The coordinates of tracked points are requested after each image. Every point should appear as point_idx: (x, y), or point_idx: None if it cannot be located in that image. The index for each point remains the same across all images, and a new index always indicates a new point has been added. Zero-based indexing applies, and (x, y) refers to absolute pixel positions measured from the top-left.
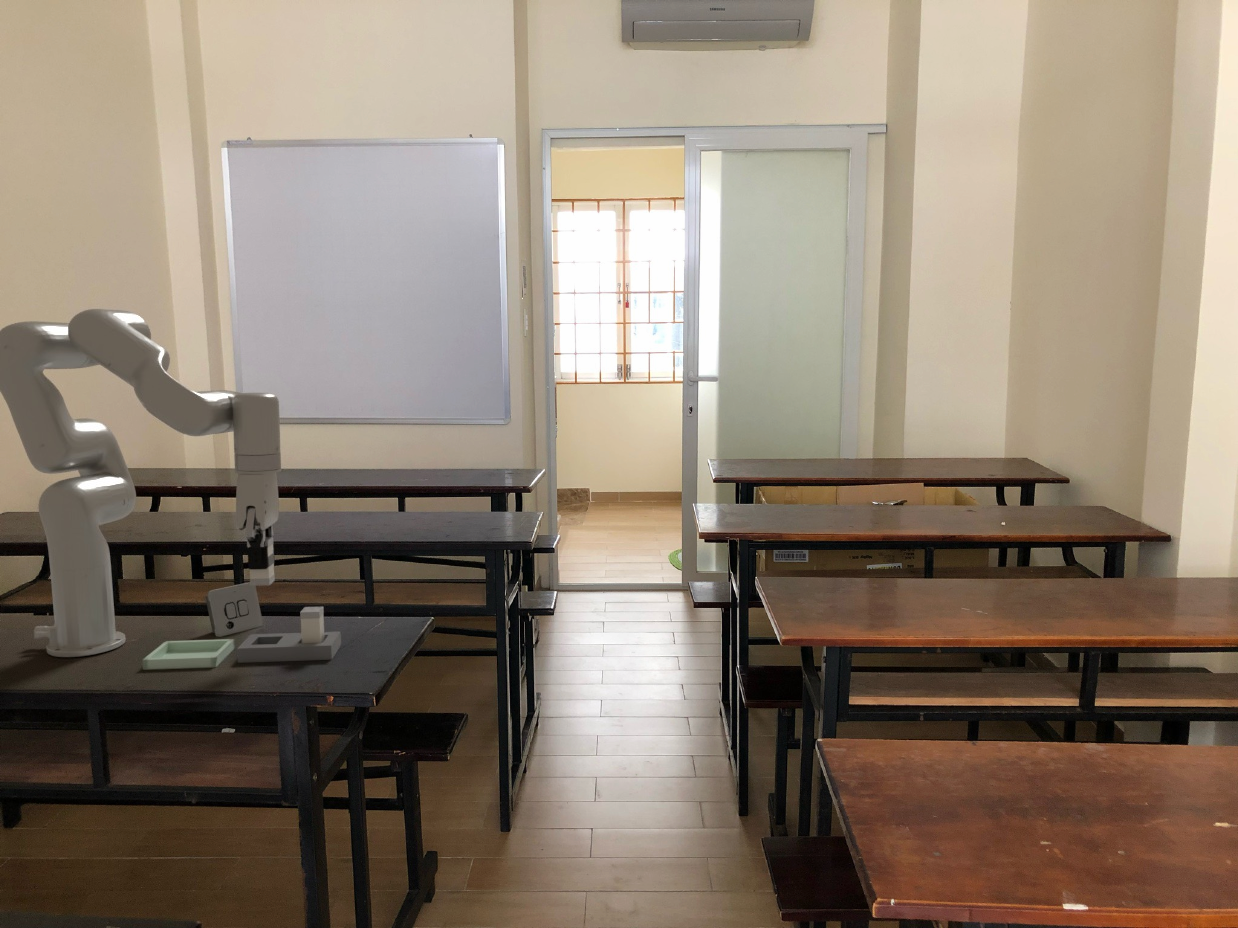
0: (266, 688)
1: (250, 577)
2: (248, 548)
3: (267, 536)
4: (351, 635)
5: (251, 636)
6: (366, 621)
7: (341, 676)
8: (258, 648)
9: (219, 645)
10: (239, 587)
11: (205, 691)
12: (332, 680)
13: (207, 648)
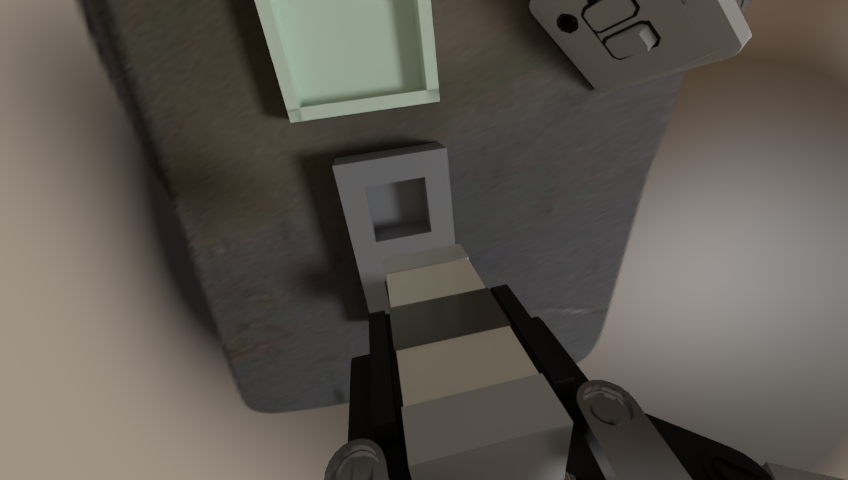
0: (217, 277)
1: (386, 279)
2: (374, 418)
3: (582, 475)
4: (518, 293)
5: (428, 157)
6: (595, 286)
7: (307, 360)
8: (344, 214)
9: (422, 64)
10: (708, 11)
11: (157, 166)
12: (286, 356)
13: (416, 28)
